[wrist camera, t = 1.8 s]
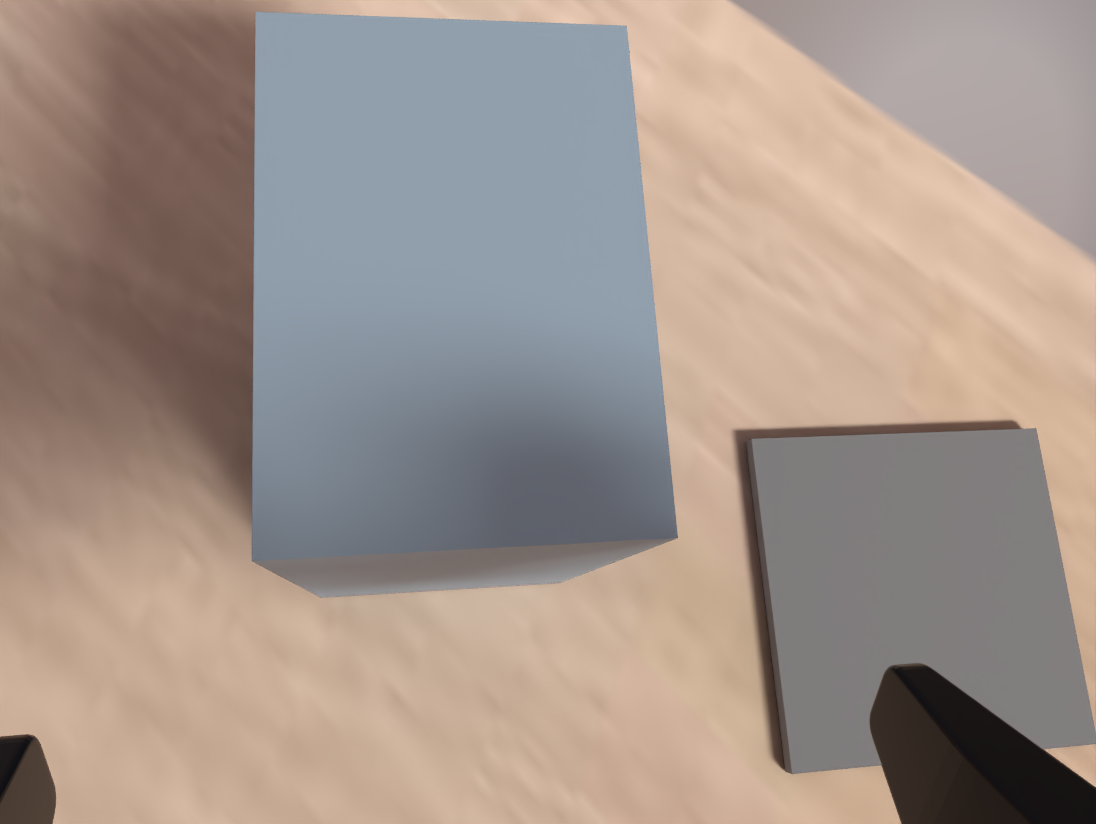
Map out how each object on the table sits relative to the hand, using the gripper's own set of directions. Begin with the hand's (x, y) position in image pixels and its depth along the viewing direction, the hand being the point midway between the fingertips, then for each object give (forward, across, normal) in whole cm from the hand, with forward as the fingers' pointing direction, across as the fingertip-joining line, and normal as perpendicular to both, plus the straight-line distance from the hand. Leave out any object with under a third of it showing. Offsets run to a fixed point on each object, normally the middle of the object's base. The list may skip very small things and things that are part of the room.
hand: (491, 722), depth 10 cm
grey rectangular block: (+13, 0, +4) cm, 13 cm away
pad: (+9, -12, +8) cm, 17 cm away
